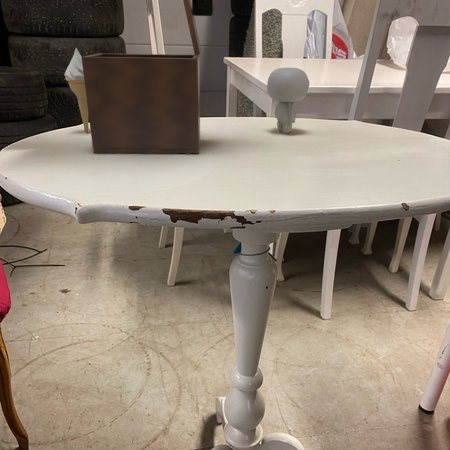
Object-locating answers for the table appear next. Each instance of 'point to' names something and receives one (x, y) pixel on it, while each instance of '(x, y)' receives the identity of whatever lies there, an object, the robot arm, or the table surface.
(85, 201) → the table surface
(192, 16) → the bin lid
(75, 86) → the ice cream cone
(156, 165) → the table surface
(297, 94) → the figurine
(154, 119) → the bin
